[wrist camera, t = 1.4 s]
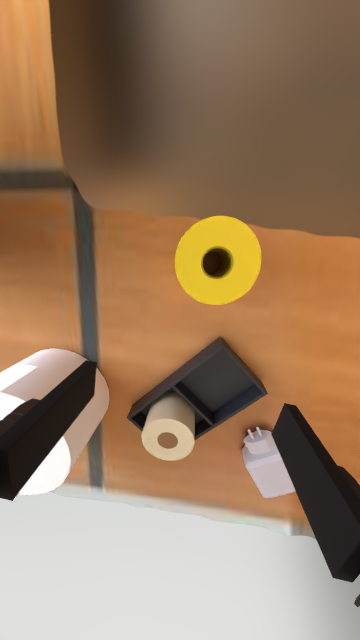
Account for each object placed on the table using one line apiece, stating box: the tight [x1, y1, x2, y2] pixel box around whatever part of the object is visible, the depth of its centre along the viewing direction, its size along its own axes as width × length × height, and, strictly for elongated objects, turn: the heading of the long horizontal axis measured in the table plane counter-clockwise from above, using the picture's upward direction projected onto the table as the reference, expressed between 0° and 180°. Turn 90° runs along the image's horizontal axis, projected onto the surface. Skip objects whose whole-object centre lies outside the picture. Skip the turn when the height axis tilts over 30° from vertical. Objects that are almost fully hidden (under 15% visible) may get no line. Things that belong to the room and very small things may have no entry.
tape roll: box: [175, 216, 261, 305], centre depth 27 cm, size 10×10×9 cm
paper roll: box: [141, 392, 195, 461], centre depth 37 cm, size 9×9×7 cm
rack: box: [127, 337, 268, 440], centre depth 38 cm, size 12×24×4 cm, turn 133°
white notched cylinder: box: [0, 348, 110, 495], centre depth 35 cm, size 20×20×13 cm
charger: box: [242, 427, 295, 498], centre depth 39 cm, size 5×9×15 cm
